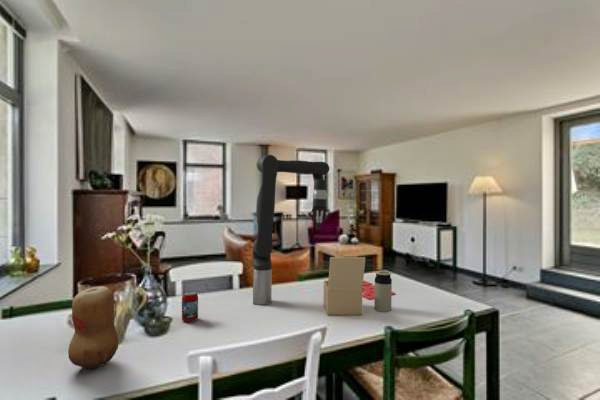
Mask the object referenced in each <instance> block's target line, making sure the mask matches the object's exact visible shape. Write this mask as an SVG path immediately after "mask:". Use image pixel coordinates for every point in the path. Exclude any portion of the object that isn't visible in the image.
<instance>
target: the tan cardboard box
mask: <svg viewBox="0 0 600 400" xmlns="http://www.w3.org/2000/svg"><path fill="white" fill-rule="evenodd" d="M365 266H366V257H365V256H363V257H362V256H360V257H359V256H358V257H357V256H354V257H353V256H352V257H351V256H349V257H348V256H347V257H346V256H341V257H339V256H338V257H337V256H336V257H335V256H334V257H333V256H332V257H329V269H328V279H329V284H328V289H362V287H364V286H363V280H364V277H365V275H364V274H365Z"/></svg>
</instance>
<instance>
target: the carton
mask: <svg viewBox="0 0 600 400" xmlns="http://www.w3.org/2000/svg"><path fill="white" fill-rule="evenodd" d="M328 284H329V281H328V280H323V307H324V309H325V313H326V315H327V317H328V316H329V317H330V316H332V317H334V316H335V317H336V316H337V317H338V316H341V317H342V316H344V317H345V316H348V317H349V316H351V317H352V316H355V317H356V316H357V317H358V316H363V297H362V295H363V292H362V289H328Z"/></svg>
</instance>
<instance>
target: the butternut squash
mask: <svg viewBox="0 0 600 400" xmlns="http://www.w3.org/2000/svg"><path fill="white" fill-rule="evenodd" d="M114 297H115V296H114V293H113V292H112V291H111V289H109V288H108V287H106V286H101V285H100V286H94V287H89V288H86V289H83V290H82V291H80V292H79V293H77V294H76V295H75V296H74V297H73V299H72V303H71V305H72V306H71V320H72V321H71V322H72V324H73V328H74V333H73V335H72V337H71V340H70V341H69V342H70V343H69V345H68V350H67V352H68V360H69V361H70V362H71V363H72V364H73V365H75V366H77V367H80V368H82V369H87V370H94V369H96V368H97V367H99V366H105V365H106V364H108V363H109V362H110V361H111V360H112V359H113V357H115V355H116V352H117V351H118V349H119V335H118V333H117V330H116V326H115V301H114Z"/></svg>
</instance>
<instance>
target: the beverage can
mask: <svg viewBox="0 0 600 400" xmlns="http://www.w3.org/2000/svg"><path fill="white" fill-rule="evenodd" d="M198 319H199V295H198V293H197V292H196V291H193V290H191V291H189V290H188V291H186V292H183V295H182V296H181V321H182V322H185V323H193V322H195V321H196V320H198Z"/></svg>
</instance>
